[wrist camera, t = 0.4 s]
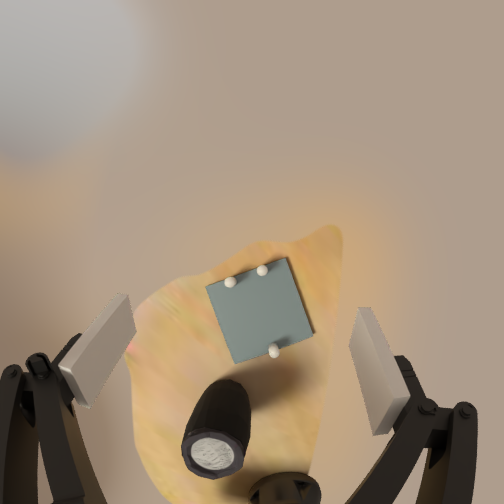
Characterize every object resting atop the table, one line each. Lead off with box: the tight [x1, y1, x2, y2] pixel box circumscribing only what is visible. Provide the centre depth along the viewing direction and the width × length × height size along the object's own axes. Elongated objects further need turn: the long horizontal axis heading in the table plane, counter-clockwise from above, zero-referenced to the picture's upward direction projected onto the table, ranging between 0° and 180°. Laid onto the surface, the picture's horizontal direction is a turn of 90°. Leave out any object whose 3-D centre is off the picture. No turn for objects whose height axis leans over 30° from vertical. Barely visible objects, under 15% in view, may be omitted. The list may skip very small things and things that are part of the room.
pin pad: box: [206, 258, 313, 364], centre depth 46 cm, size 14×14×5 cm
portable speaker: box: [181, 380, 251, 480], centre depth 37 cm, size 9×9×20 cm
